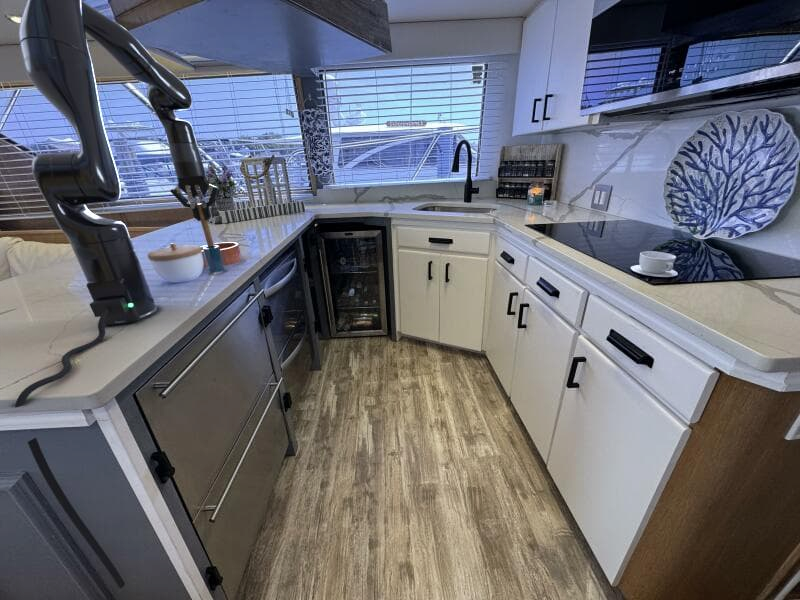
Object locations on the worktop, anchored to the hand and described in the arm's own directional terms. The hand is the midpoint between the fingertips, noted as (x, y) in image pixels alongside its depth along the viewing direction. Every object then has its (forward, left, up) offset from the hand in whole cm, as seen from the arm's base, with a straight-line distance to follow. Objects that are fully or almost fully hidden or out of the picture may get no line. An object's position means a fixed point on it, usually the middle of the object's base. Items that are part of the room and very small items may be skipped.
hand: (203, 220), depth 101 cm
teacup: (-53, -119, -15) cm, 131 cm away
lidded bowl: (-15, +5, -15) cm, 22 cm away
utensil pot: (-9, -3, -15) cm, 18 cm away
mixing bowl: (+1, -2, -15) cm, 15 cm away
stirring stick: (0, 0, -13) cm, 13 cm away
